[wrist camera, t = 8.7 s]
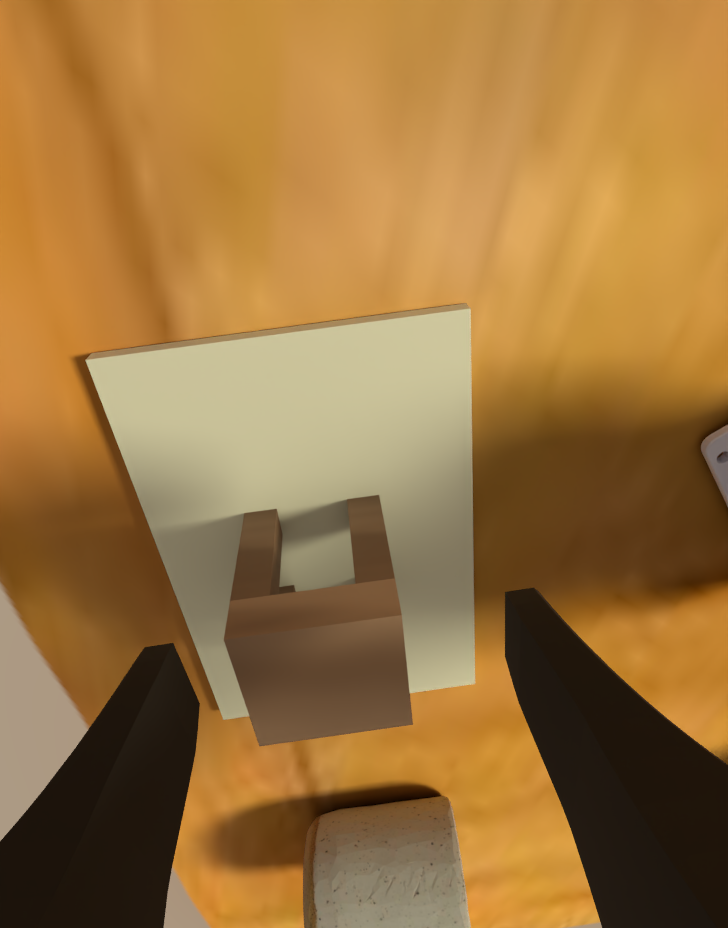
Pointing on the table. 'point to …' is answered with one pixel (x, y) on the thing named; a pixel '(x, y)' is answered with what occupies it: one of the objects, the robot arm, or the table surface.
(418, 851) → the ceramic mug
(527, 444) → the table surface
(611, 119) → the table surface
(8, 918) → the robot arm
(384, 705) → the stool
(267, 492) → the mat
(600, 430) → the table surface
